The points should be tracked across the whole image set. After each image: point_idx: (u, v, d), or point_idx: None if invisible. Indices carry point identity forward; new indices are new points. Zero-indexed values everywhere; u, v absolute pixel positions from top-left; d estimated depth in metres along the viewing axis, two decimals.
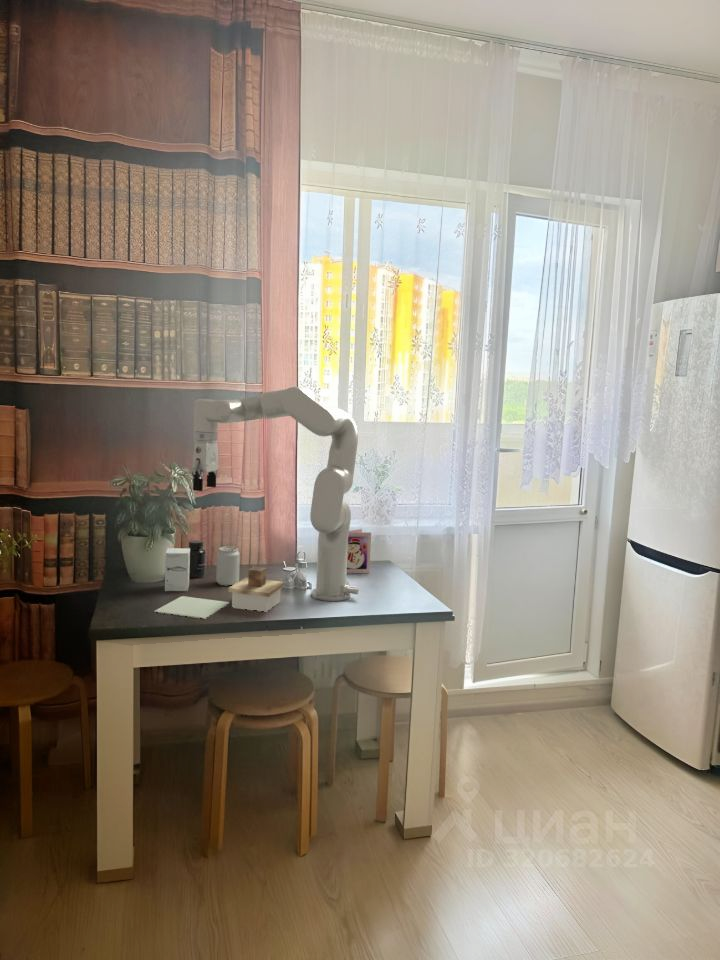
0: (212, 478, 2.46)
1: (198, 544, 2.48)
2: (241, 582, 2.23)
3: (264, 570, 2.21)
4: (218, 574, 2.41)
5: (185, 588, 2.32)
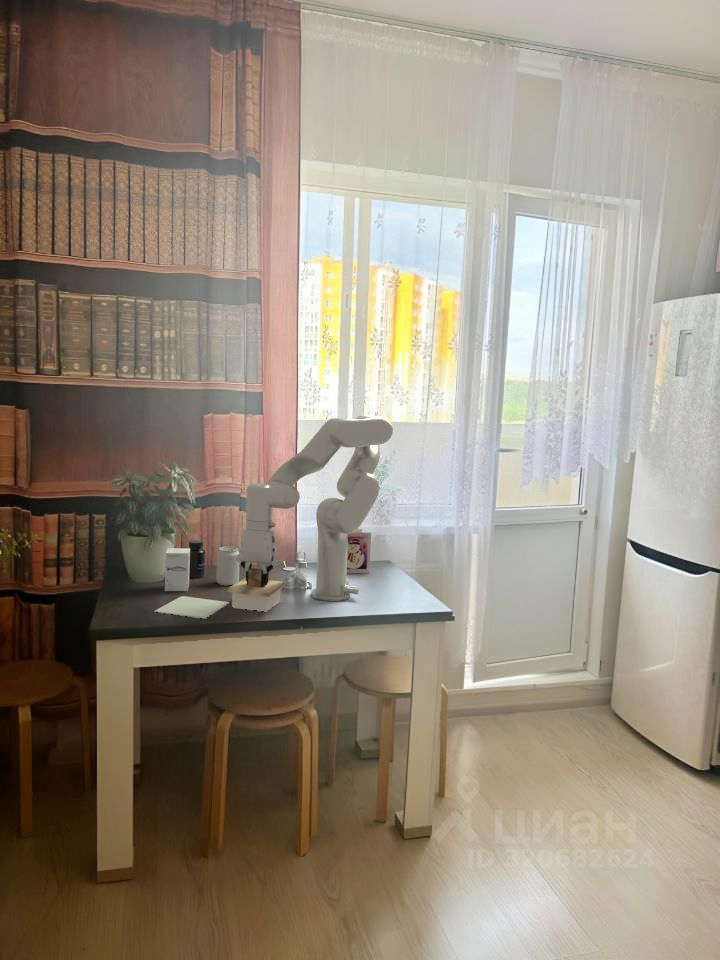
0: None
1: (198, 544, 2.48)
2: (241, 582, 2.23)
3: None
4: (218, 574, 2.41)
5: (185, 588, 2.32)
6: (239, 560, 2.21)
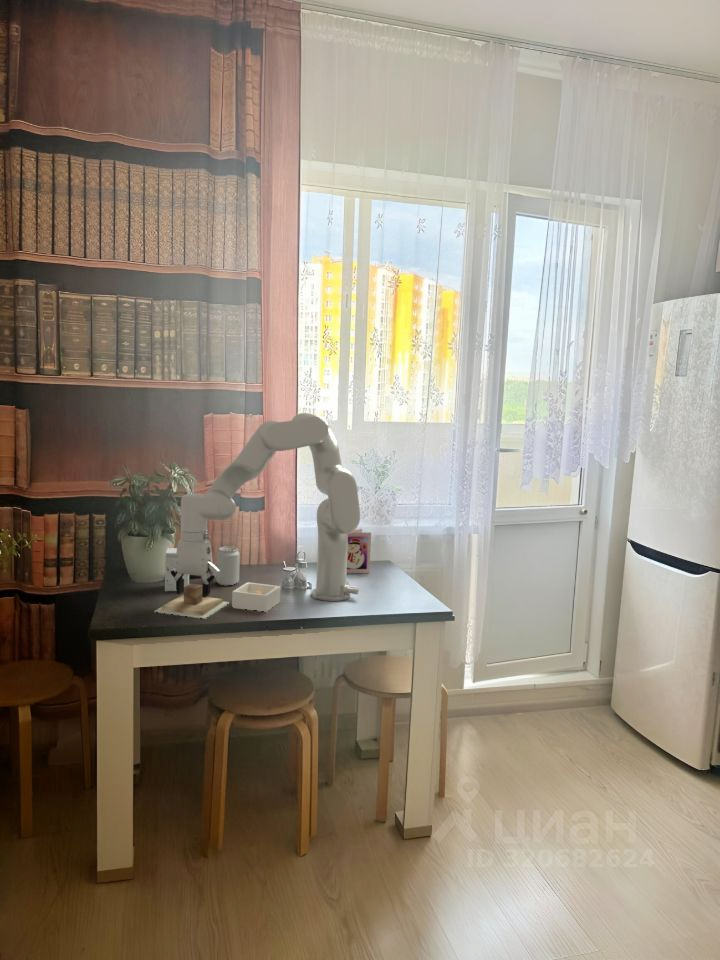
0: (182, 583, 2.17)
1: None
2: (177, 599, 2.18)
3: (200, 587, 2.16)
4: (218, 574, 2.41)
5: None
6: (170, 568, 2.16)
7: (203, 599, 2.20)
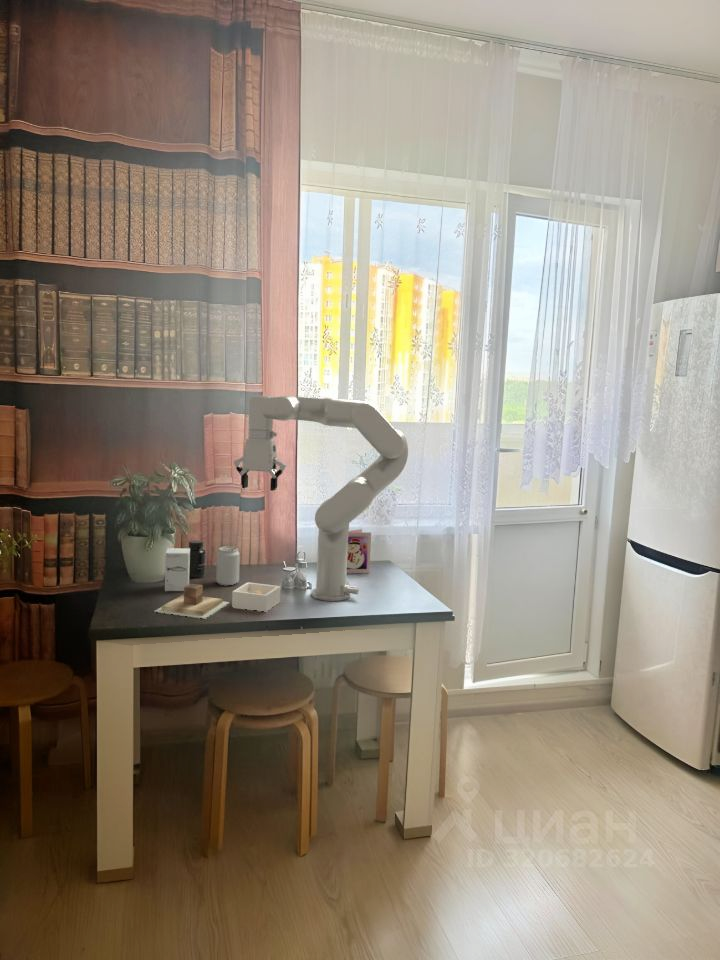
0: (247, 478, 2.34)
1: (198, 544, 2.48)
2: (177, 599, 2.18)
3: (200, 587, 2.16)
4: (218, 574, 2.41)
5: None
6: (236, 464, 2.33)
7: (203, 599, 2.20)
